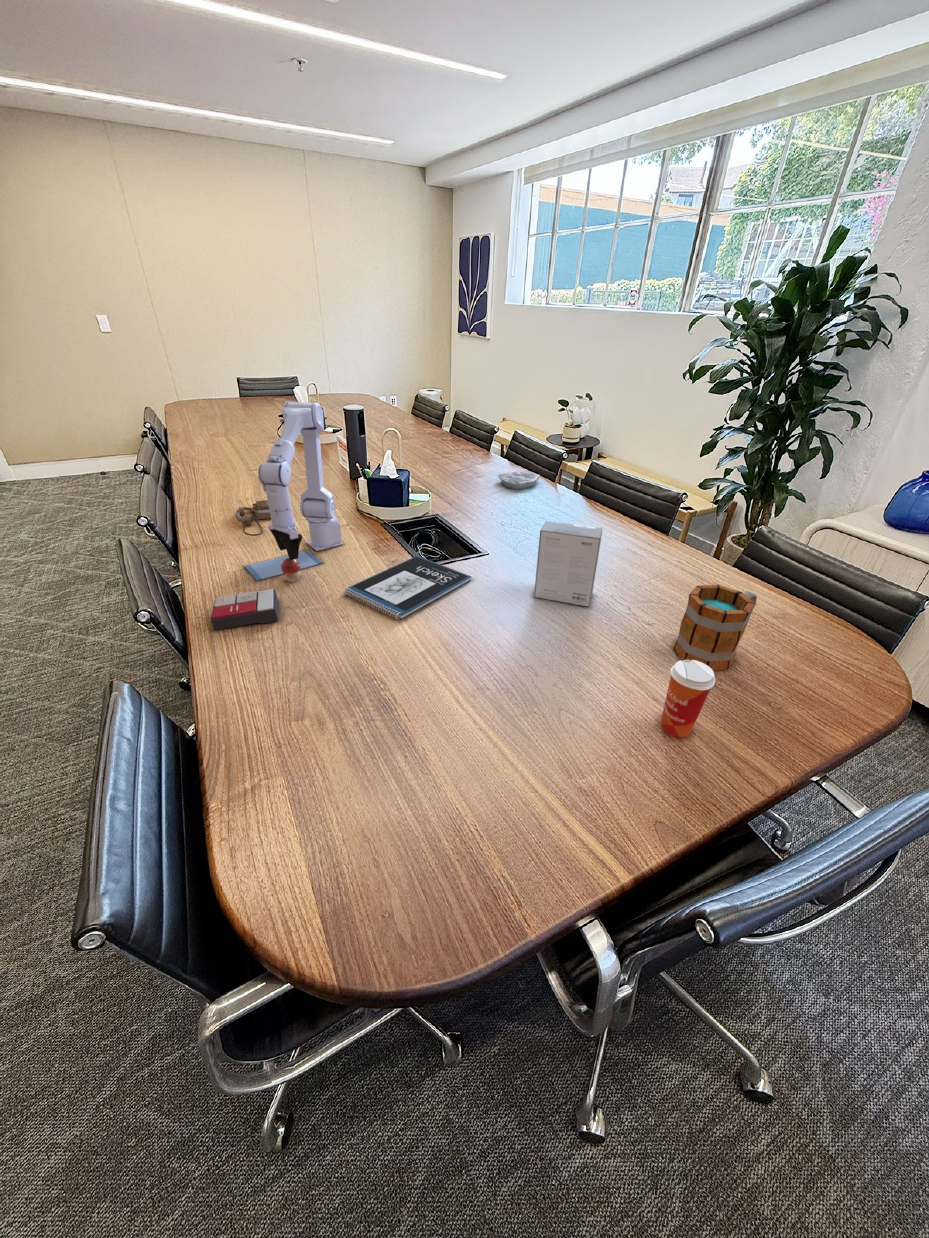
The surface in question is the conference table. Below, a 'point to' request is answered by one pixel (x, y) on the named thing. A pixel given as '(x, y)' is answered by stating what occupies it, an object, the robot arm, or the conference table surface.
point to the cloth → (274, 565)
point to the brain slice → (518, 479)
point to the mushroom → (291, 569)
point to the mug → (714, 625)
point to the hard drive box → (567, 562)
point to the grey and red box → (245, 609)
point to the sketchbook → (407, 586)
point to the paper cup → (686, 696)
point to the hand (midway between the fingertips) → (288, 554)
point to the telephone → (258, 509)
